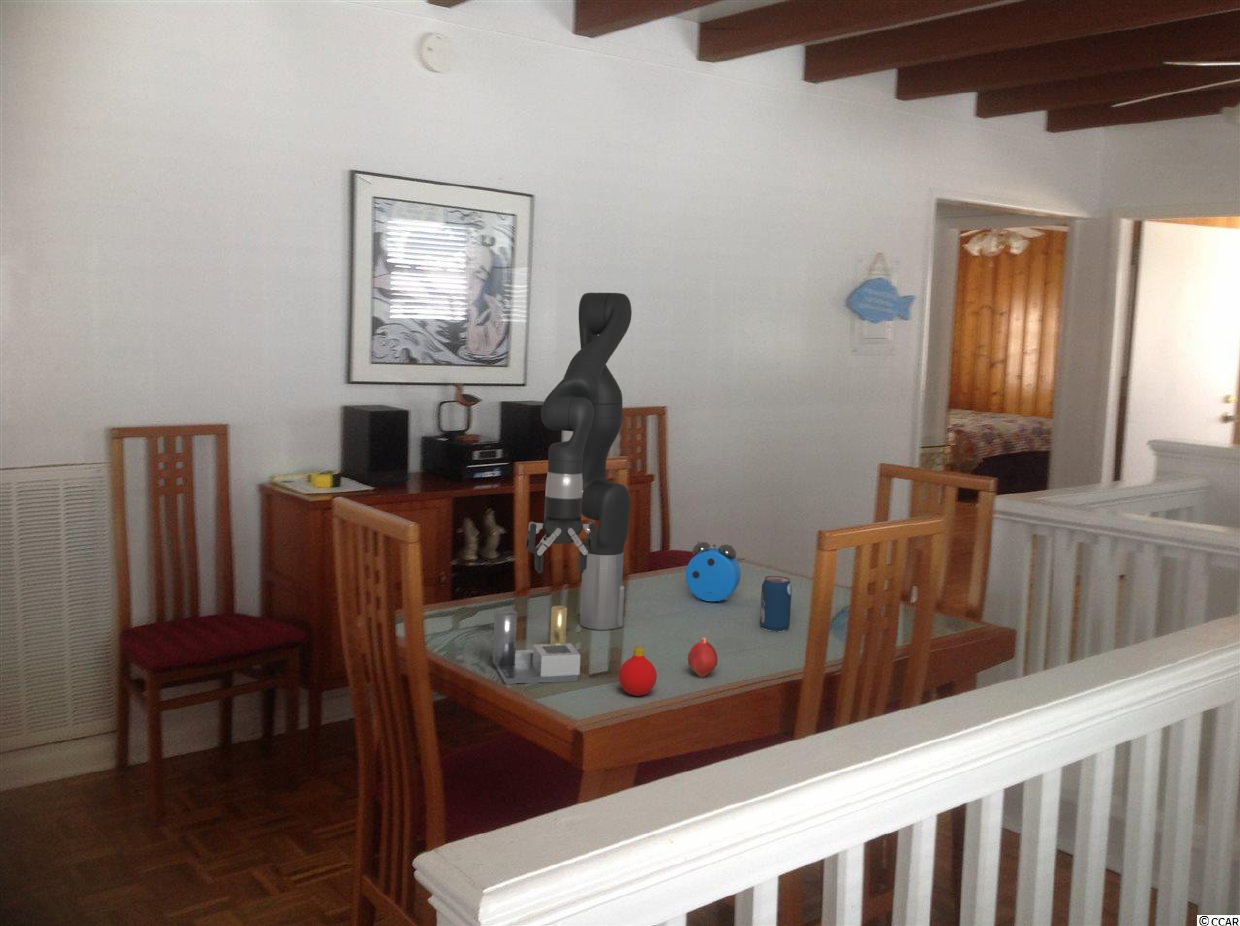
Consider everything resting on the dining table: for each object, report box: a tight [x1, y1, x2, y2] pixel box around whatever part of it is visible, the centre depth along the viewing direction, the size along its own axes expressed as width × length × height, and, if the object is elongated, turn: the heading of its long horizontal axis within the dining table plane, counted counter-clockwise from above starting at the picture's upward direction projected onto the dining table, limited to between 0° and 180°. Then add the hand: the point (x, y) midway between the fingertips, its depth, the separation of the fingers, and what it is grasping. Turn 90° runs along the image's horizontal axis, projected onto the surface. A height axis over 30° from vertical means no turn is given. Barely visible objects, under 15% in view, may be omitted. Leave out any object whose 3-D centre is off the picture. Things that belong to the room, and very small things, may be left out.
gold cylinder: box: [549, 605, 568, 644], centre depth 222 cm, size 3×3×10 cm
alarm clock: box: [685, 541, 741, 602], centre depth 275 cm, size 13×6×15 cm, turn 71°
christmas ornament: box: [618, 642, 658, 697], centre depth 200 cm, size 7×7×10 cm
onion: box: [687, 637, 719, 678], centre depth 213 cm, size 6×6×8 cm
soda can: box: [759, 575, 793, 631], centre depth 251 cm, size 7×7×12 cm
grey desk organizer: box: [492, 609, 581, 685], centre depth 210 cm, size 15×12×11 cm
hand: (560, 572), depth 221 cm, fingers open, 8 cm apart
